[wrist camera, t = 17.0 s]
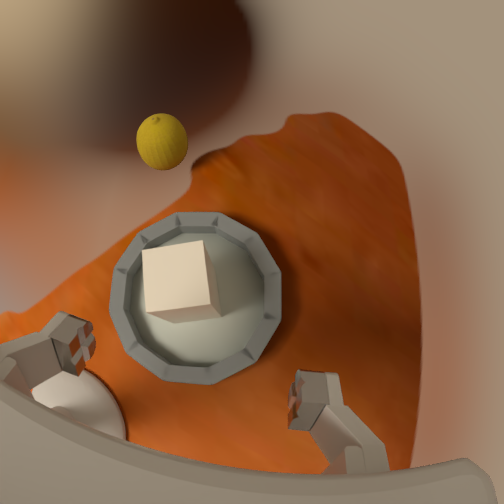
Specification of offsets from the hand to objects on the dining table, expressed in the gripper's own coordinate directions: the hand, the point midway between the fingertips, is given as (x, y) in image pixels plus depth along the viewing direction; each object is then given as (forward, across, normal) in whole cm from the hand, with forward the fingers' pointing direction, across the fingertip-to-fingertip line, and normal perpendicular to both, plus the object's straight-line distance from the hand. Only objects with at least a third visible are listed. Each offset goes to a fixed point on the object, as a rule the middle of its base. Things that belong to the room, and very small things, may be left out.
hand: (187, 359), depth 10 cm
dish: (+16, +3, +9) cm, 18 cm away
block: (+15, +3, +8) cm, 18 cm away
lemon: (+27, +10, -2) cm, 29 cm away
